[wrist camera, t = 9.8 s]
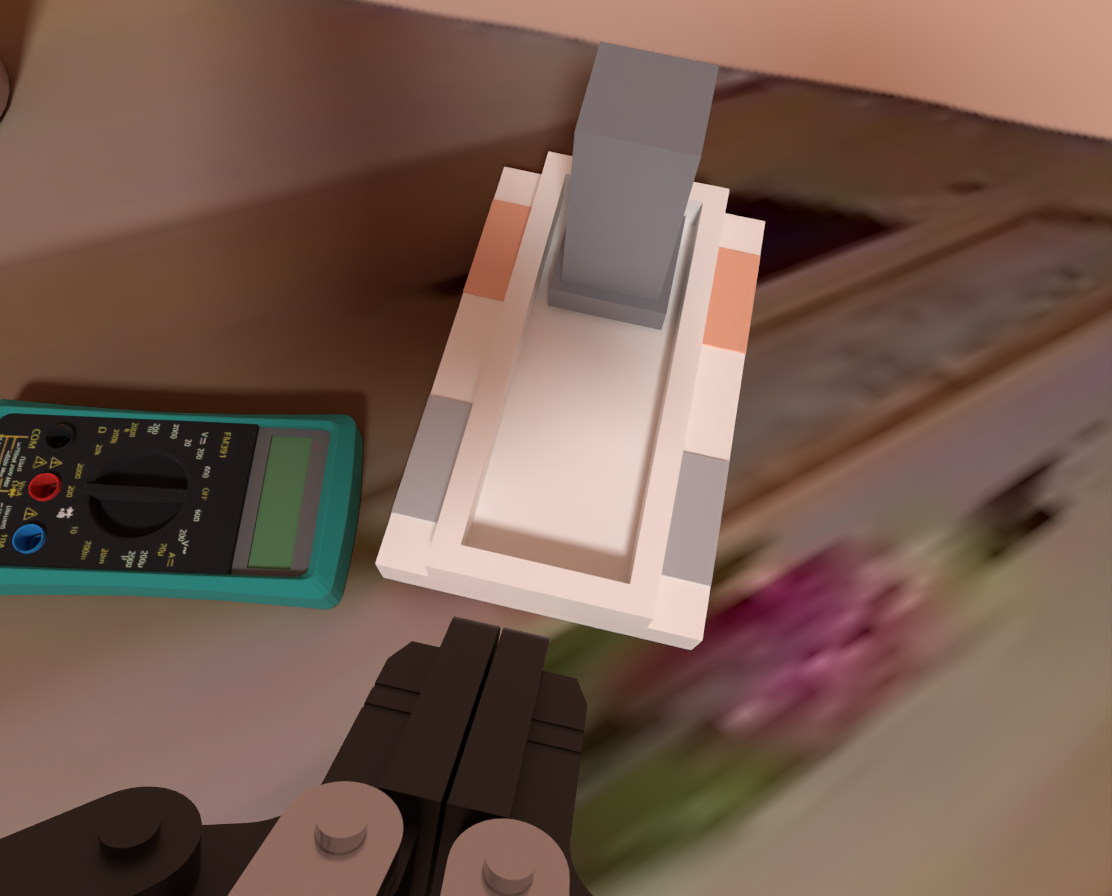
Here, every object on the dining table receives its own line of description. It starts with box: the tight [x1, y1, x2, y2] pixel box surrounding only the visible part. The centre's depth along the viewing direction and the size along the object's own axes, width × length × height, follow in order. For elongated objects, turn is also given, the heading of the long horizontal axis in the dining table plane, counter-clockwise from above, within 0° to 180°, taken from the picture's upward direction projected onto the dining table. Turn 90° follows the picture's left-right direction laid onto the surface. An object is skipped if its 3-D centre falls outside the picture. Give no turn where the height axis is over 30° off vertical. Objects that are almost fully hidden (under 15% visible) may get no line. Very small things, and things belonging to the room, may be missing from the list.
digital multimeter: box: [0, 399, 363, 609], centre depth 31 cm, size 7×15×3 cm, turn 88°
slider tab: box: [548, 42, 719, 330], centre depth 30 cm, size 5×5×9 cm
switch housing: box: [375, 152, 765, 650], centre depth 33 cm, size 12×19×4 cm, turn 167°
